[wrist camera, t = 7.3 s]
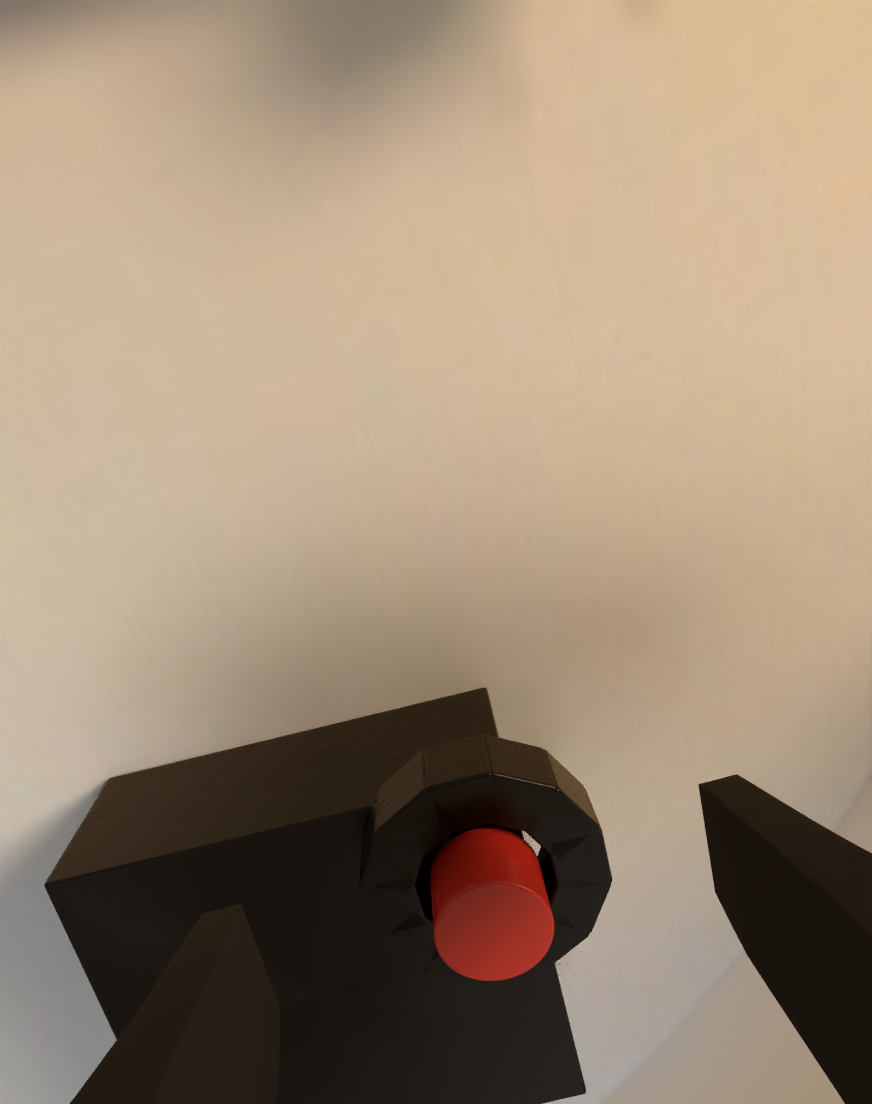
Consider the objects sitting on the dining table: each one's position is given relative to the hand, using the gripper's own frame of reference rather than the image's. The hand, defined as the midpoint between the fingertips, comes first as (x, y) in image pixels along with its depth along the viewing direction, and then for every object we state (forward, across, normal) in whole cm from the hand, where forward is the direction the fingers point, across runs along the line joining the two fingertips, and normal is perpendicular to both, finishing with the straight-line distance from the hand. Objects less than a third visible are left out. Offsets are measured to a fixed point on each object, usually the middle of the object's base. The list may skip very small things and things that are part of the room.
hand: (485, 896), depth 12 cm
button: (+5, 0, +3) cm, 6 cm away
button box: (+10, +3, +6) cm, 12 cm away
